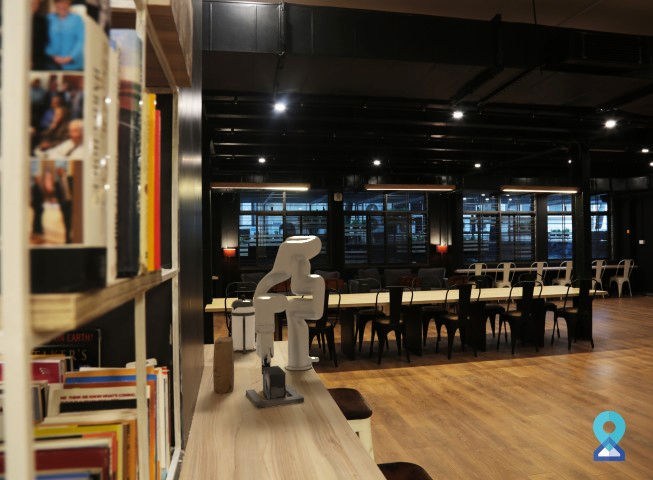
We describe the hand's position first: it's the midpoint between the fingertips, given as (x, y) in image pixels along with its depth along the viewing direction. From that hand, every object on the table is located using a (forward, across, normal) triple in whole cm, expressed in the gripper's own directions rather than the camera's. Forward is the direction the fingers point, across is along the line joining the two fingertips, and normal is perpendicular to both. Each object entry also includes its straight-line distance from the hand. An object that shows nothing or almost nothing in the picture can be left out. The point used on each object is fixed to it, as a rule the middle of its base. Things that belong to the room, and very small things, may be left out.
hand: (266, 374), depth 177 cm
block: (+5, -4, -16) cm, 17 cm away
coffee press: (+7, -68, +6) cm, 68 cm away
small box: (+5, +14, -1) cm, 15 cm away
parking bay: (+5, +14, -1) cm, 15 cm away
